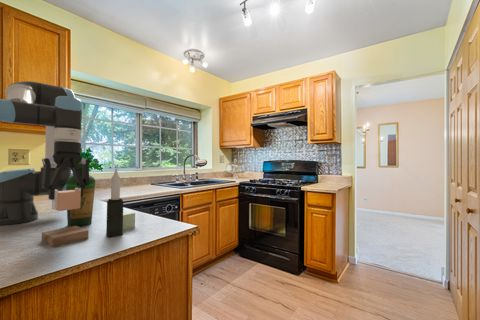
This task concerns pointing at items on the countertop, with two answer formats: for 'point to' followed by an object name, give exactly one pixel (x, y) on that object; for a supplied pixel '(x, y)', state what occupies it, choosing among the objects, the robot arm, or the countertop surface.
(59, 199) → the brick
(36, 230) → the countertop surface
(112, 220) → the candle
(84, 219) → the bottle
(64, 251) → the countertop surface
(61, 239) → the base block
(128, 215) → the brick
